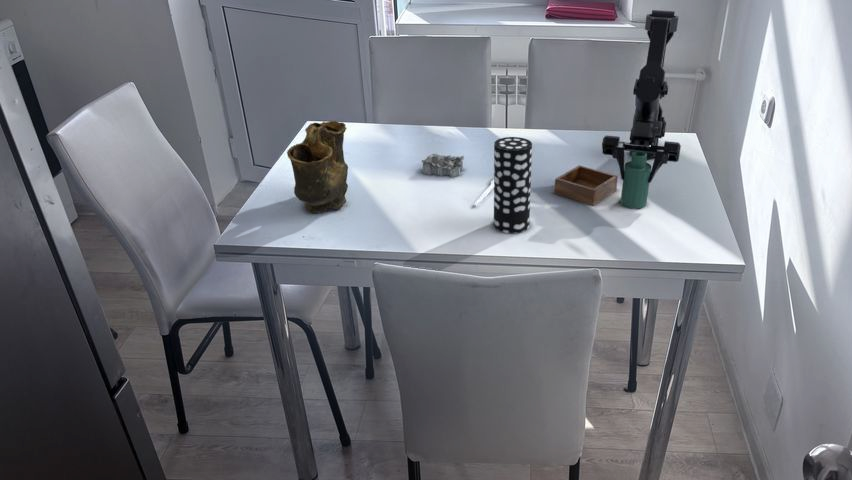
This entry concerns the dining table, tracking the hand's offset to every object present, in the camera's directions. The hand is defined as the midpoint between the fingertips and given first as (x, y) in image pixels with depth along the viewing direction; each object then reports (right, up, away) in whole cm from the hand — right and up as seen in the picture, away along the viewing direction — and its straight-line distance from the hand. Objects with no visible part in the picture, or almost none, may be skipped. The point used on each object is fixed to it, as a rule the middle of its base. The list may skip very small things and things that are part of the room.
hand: (635, 180), depth 170 cm
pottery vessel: (-76, -5, +2) cm, 76 cm away
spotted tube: (-30, -12, -6) cm, 33 cm away
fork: (-36, -2, +9) cm, 37 cm away
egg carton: (-49, +6, +21) cm, 53 cm away
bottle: (0, -5, +5) cm, 7 cm away
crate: (-11, -1, +10) cm, 15 cm away
